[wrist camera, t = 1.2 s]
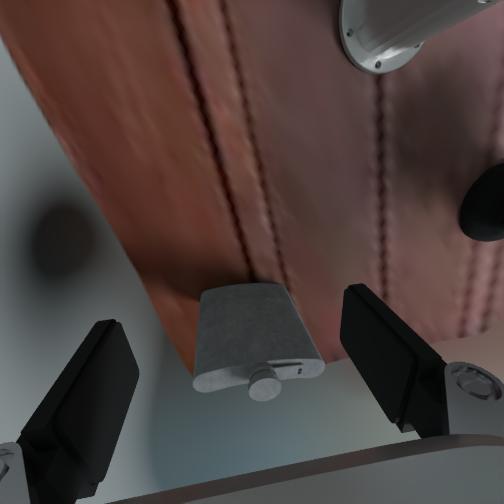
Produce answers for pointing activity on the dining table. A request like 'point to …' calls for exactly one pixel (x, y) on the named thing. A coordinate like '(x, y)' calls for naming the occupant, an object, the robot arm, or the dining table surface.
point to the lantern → (485, 207)
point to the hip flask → (252, 340)
